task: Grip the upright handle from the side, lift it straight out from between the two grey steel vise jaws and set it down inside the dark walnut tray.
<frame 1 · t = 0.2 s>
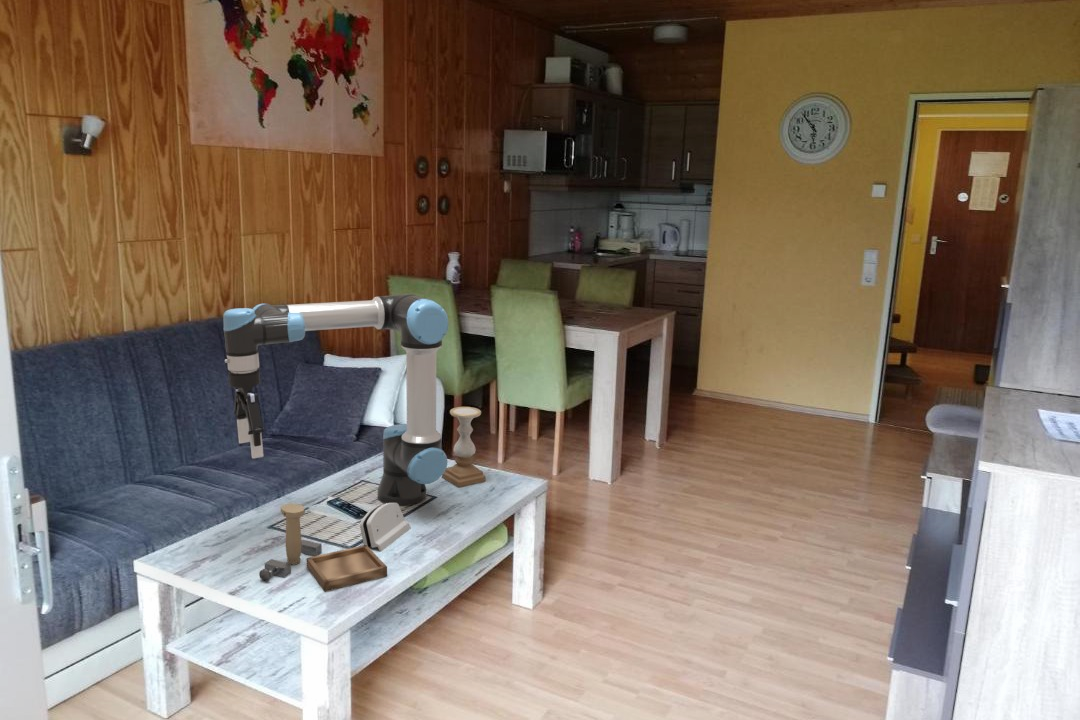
hand: (250, 449, 206), 27 cm above the table, tool pointing down, fingers open, 13 cm apart
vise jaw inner: (309, 552, 210), on the table
candle holder: (463, 479, 266), on the table
vise jaw outer: (277, 572, 199), on the table
handle: (294, 563, 205), on the table
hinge: (384, 538, 222), on the table
tray: (346, 571, 201), on the table
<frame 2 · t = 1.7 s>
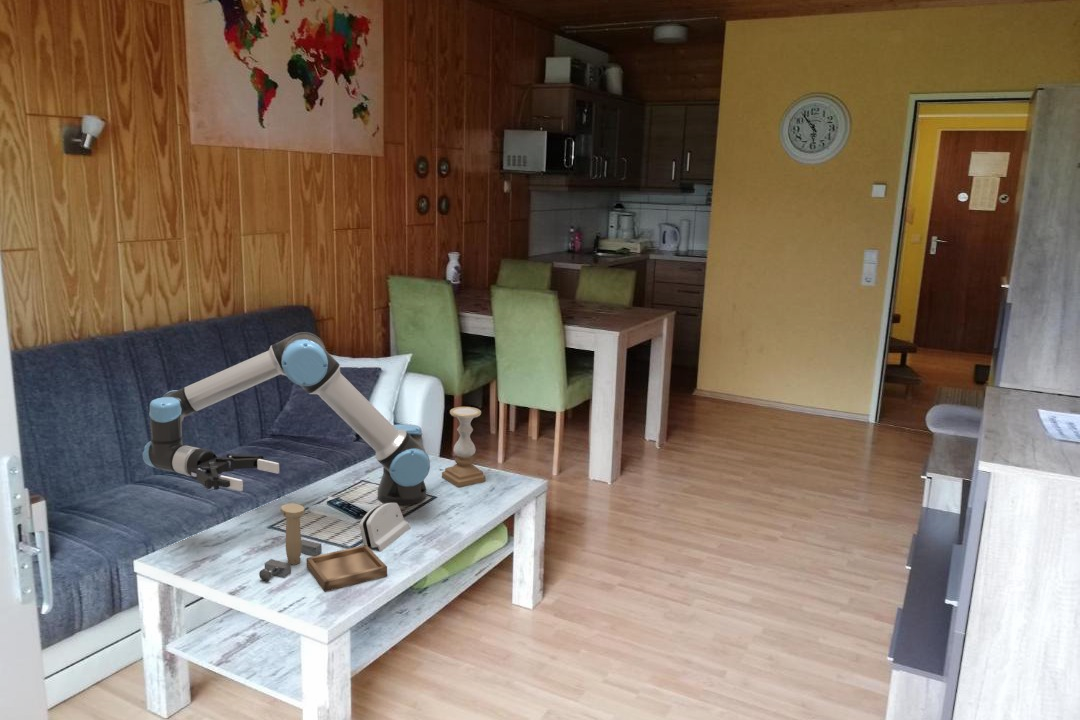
hand: (260, 476, 203), 22 cm above the table, tool horizontal, fingers open, 13 cm apart
nothing on the table moved.
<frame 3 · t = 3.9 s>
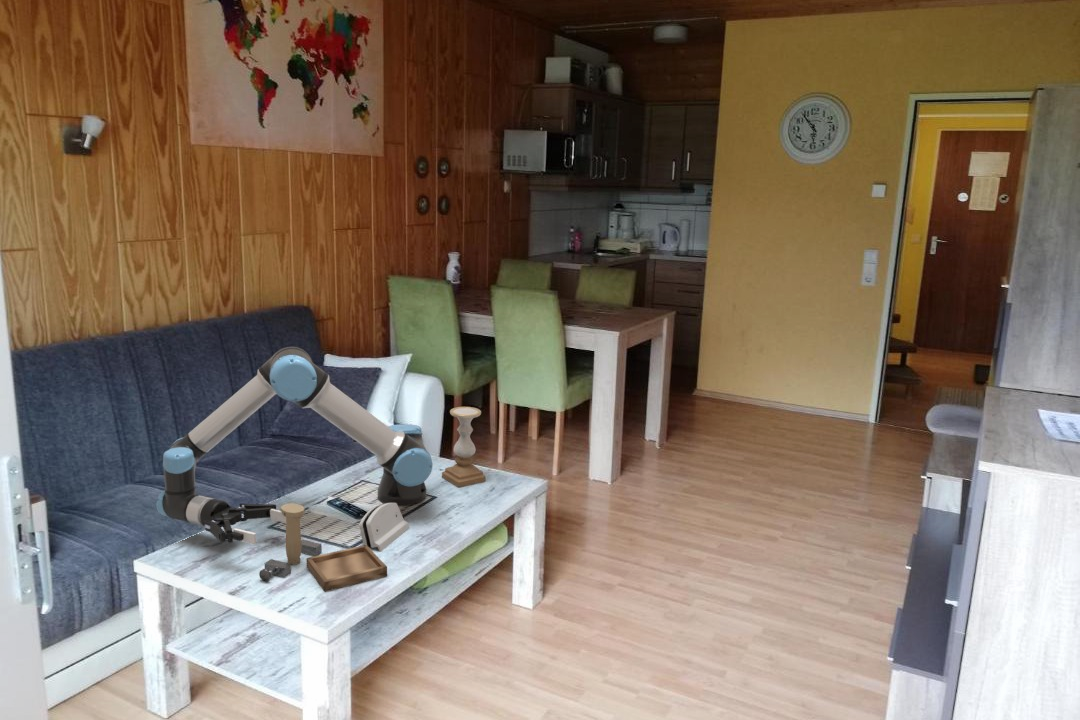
hand: (273, 528, 205), 8 cm above the table, tool horizontal, fingers open, 13 cm apart
nothing on the table moved.
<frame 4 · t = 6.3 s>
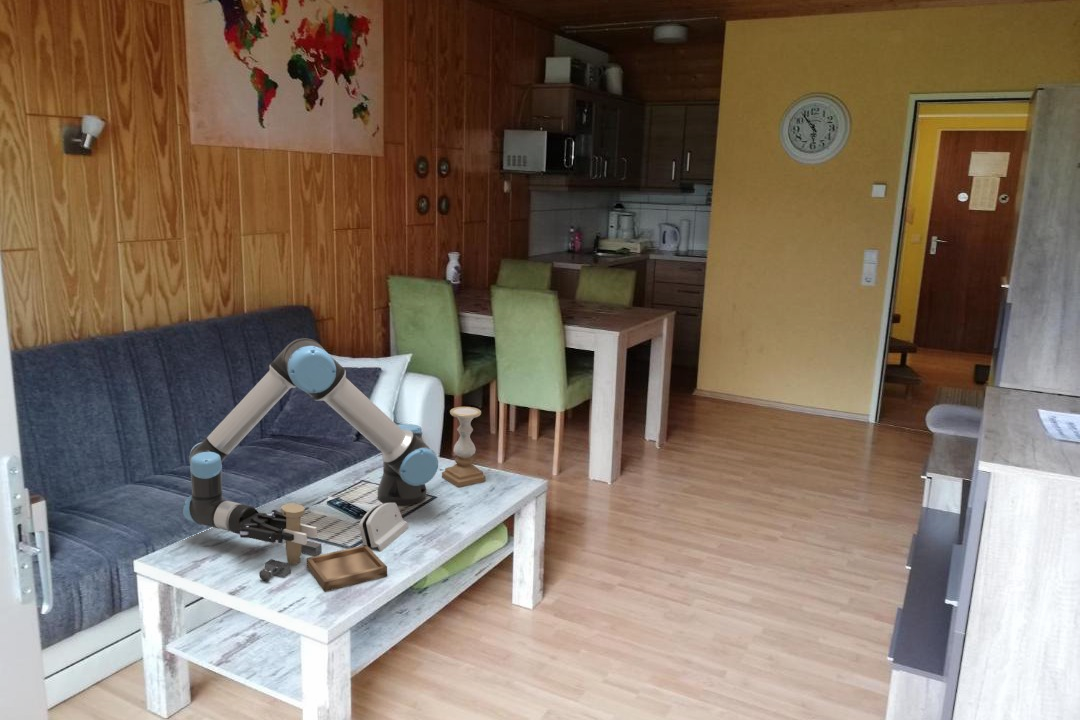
hand: (310, 536, 201), 9 cm above the table, tool horizontal, fingers closed on handle, 3 cm apart
handle: (293, 563, 205), on the table, touching gripper
everything else where it was.
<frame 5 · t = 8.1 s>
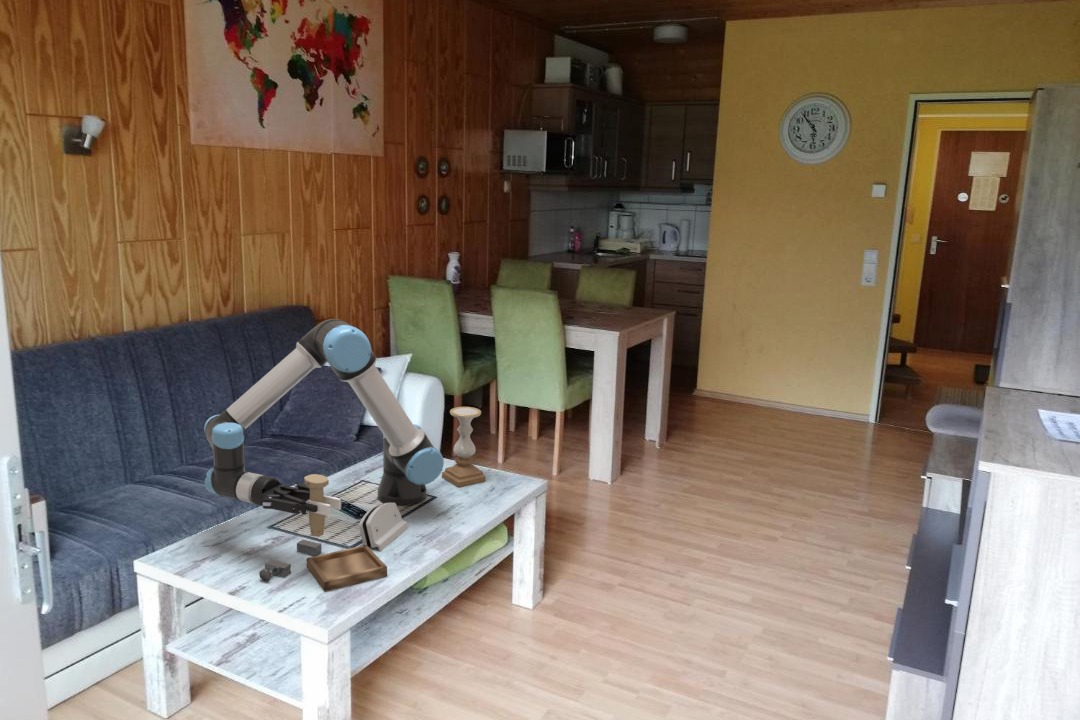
hand: (334, 507, 196), 18 cm above the table, tool horizontal, fingers closed on handle, 3 cm apart
handle: (317, 535, 200), point 9 cm above the table, touching gripper
everything else where it was.
when the fingers open (11 cm above the table, at t = 10.1 s): handle drops 1 cm, resting on tray.
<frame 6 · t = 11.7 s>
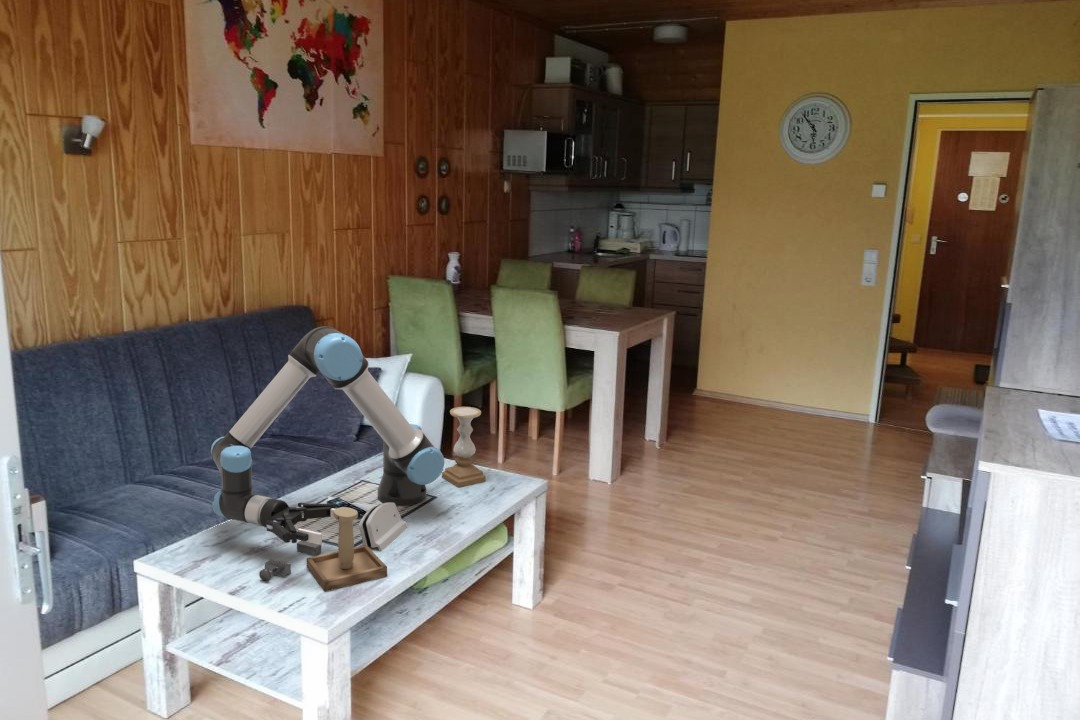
hand: (337, 528, 200), 11 cm above the table, tool horizontal, fingers open, 13 cm apart
handle: (346, 567, 201), point 1 cm above the table, touching tray
everything else where it was.
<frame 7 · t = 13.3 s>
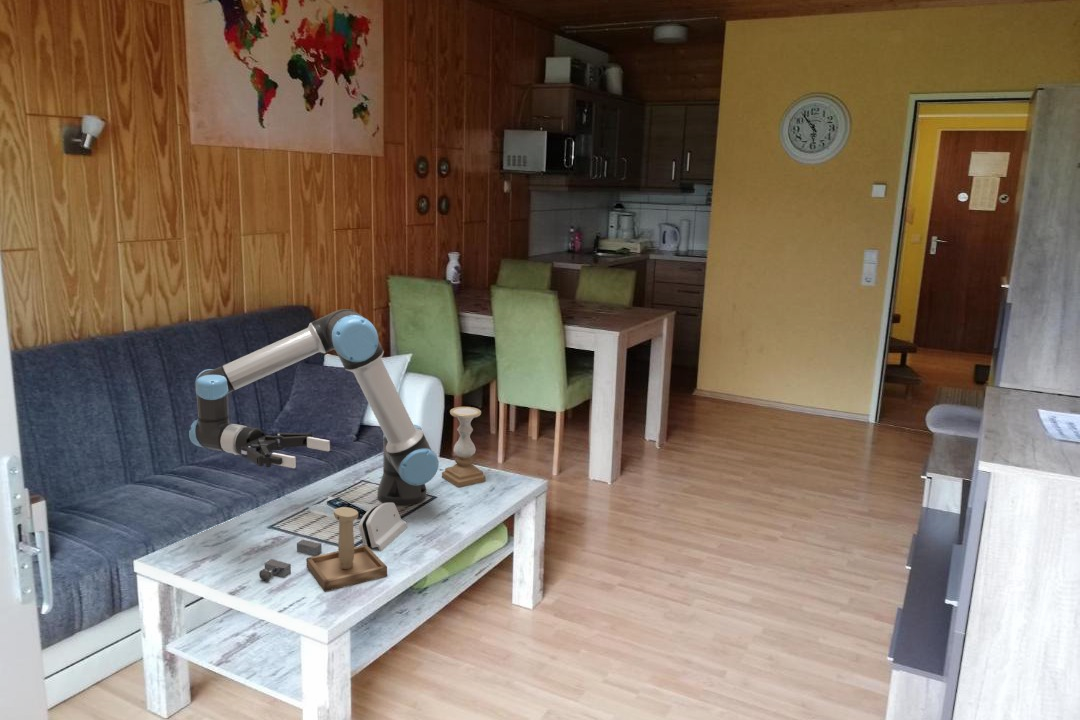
hand: (312, 454, 198), 30 cm above the table, tool horizontal, fingers open, 13 cm apart
nothing on the table moved.
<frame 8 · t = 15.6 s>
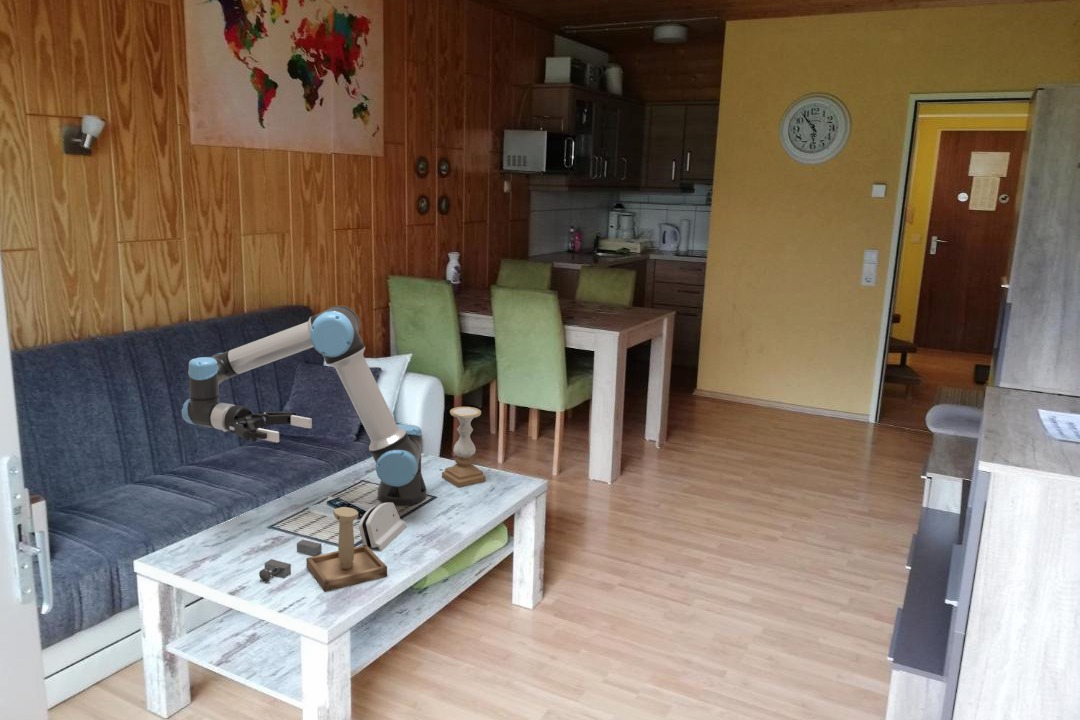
hand: (295, 430, 214), 30 cm above the table, tool horizontal, fingers open, 13 cm apart
nothing on the table moved.
at the end: handle inside the target area on the tray (0.1 cm from its centre), point 1.0 cm above the tray's base; handle tilted 0°; the gripper is holding nothing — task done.
